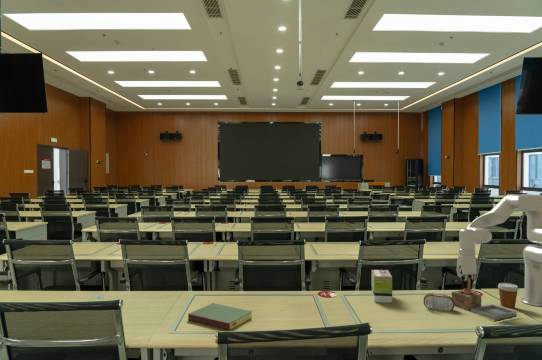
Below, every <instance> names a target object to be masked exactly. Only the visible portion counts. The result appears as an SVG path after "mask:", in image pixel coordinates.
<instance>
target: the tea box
mask: <svg viewBox="0 0 542 360" xmlns="http://www.w3.org/2000/svg"><path fill="white" fill-rule="evenodd" d="M371 297H372V299H373V302H374V303H387V304H389V303H393V276H392V274H391V272H390V271H389V269H371Z"/></svg>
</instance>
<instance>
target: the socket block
mask: <svg viewBox="0 0 542 360" xmlns="http://www.w3.org/2000/svg"><path fill="white" fill-rule="evenodd" d="M451 297H452V298H453V300H454V302H455V306H454V307H457V308H459V309H462V310H464V311H468V312H469V311H471V308H476V307H481V306H482V294H481V293H477V292H475V291H471V290H470V295H465V294H464V289H461V290H455V291H451Z"/></svg>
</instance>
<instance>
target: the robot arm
mask: <svg viewBox="0 0 542 360" xmlns="http://www.w3.org/2000/svg"><path fill="white" fill-rule="evenodd" d="M516 211H518V212H519V211H520V212H524V213H525V215H526V218H527V220H526V238H527V240H528V241H529V242H531V243H534V244H529V245H528V244H527V246H525V247H524V248H523V250H522V256H523V261H524V297H522V298H521V299H520V301H521V303H524V304H525V305H530V306H536V307H542V194H530V193H523V194H522V193H521V194H519V193H518V194H515V193H510V194H509V193H508V194H506V195H505V196H504V197H503V198H502V199H500V200H499V202H498V203H497V204H496V205H495V206H494V207H493V208H492V209H491V210H489V212H486V213H484V214H483V215H481V216H478V217H477V218H475V219H474V220H473V221H472V222H471V223H470V224H468V225H467V227H466V228H461V229H460V230H459V235H458V236H459V241H458V243H459V246H458V248H459V250H458V256H457V260H456V273H457V275H456V276H457V277H459V278H460V281H461V288H463V289H464V288H467V281H466V280H467V276H468V277H470V289H471V288H473V287H474V286H473V284H474V281H473V280H474V277H475V276H476V275H477V267H478V266H477V258H476V243H479V244H487V243H489V242H490V241H491V240H492V238H493V234H492V233H491V231H490V230H489V229H487V228H488V227H491V226H495V225H496V226H497V225H500V224H503V223H505V222H506V221H507V219H509V218H510V217H511V216H512V214H513V213H515V212H516ZM536 244H540V245H536Z"/></svg>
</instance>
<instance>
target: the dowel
mask: <svg viewBox="0 0 542 360" xmlns="http://www.w3.org/2000/svg"><path fill="white" fill-rule="evenodd" d="M466 281H467V288H463V290H464V294H465V295H470V291H471V287H470V277H468V276H467V280H466Z"/></svg>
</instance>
